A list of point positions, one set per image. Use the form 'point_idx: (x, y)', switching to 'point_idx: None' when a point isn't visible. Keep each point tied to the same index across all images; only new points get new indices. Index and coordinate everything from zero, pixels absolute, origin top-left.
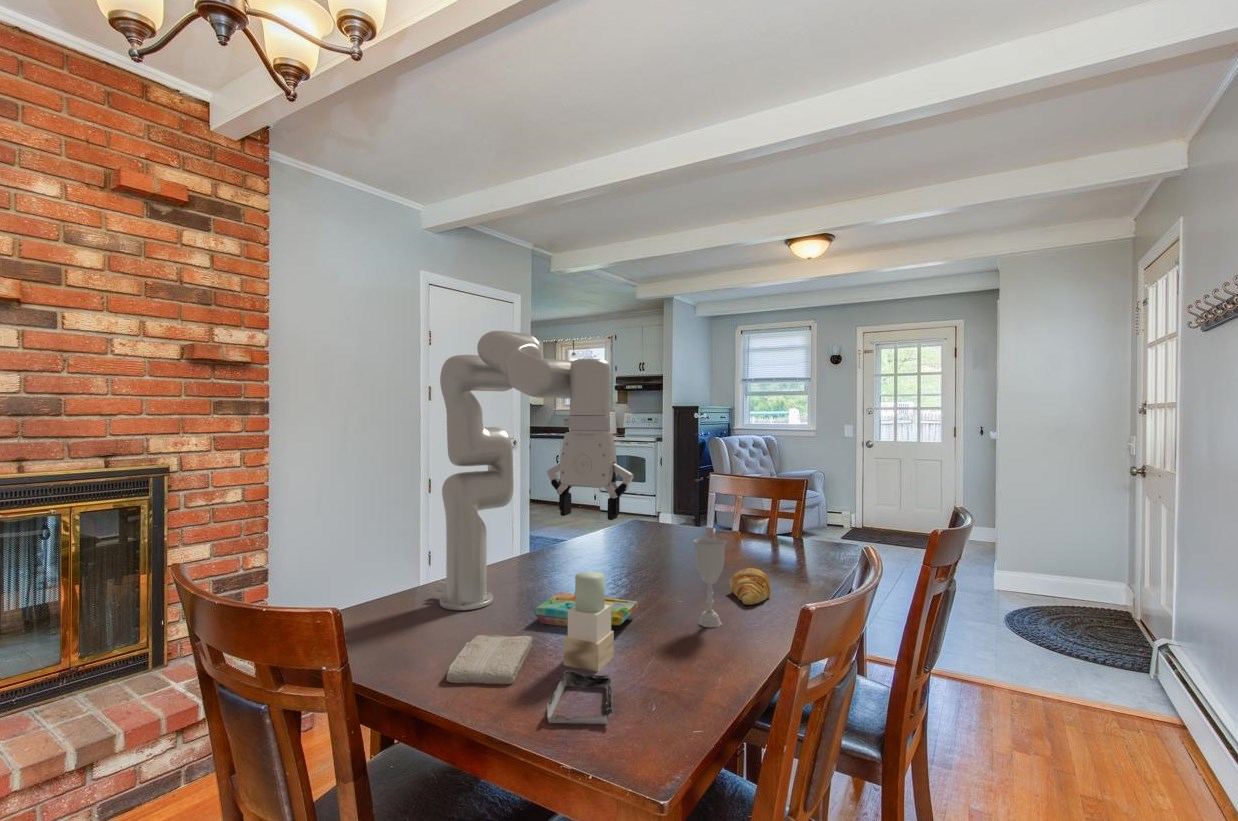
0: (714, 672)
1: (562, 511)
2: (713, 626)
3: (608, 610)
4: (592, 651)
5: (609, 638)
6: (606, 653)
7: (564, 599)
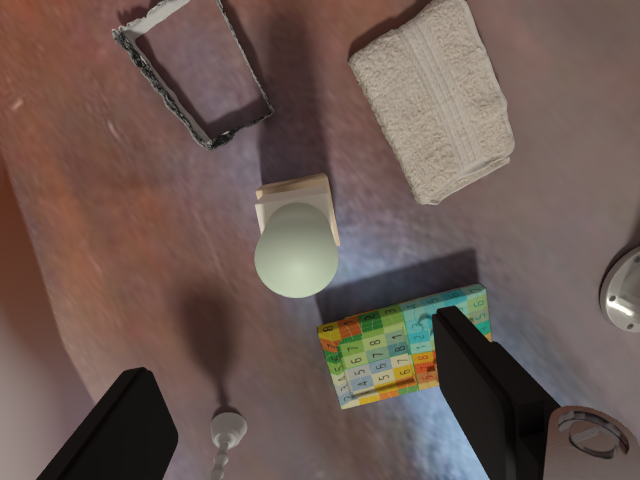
0: (117, 282)
1: (451, 319)
2: (215, 418)
3: None
4: (268, 187)
5: None
6: None
7: None
